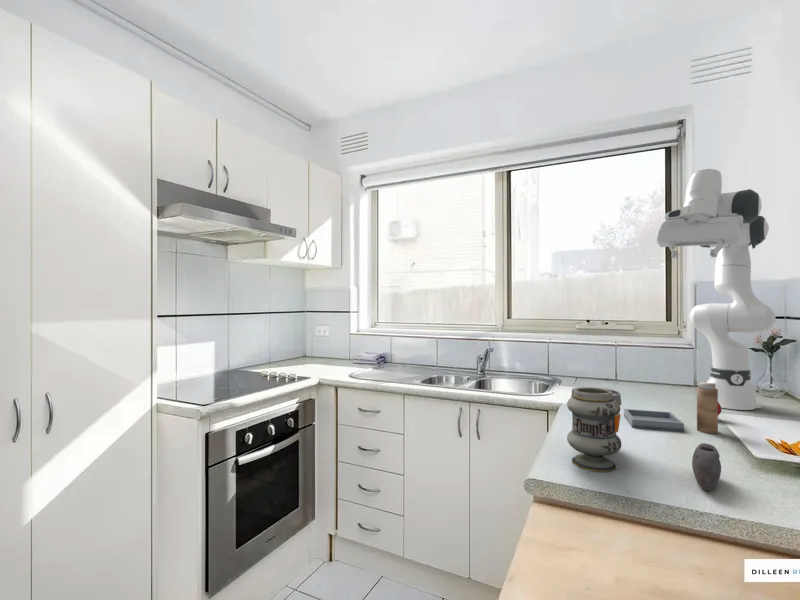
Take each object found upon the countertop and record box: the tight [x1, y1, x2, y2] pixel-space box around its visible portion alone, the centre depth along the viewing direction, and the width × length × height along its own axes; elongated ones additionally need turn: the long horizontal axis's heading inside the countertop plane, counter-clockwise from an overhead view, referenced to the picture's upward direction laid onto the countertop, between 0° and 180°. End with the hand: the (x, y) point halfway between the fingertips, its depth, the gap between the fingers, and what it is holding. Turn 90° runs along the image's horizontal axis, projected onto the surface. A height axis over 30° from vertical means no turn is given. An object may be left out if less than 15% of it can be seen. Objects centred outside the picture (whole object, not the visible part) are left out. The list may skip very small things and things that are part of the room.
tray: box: [623, 408, 685, 433], centre depth 138 cm, size 14×14×2 cm
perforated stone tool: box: [691, 442, 722, 491], centre depth 93 cm, size 15×5×7 cm, turn 142°
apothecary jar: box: [566, 386, 622, 473], centre depth 104 cm, size 12×12×18 cm
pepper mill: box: [696, 381, 719, 434], centre depth 130 cm, size 5×5×14 cm
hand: (693, 256), depth 123 cm, fingers open, 8 cm apart
